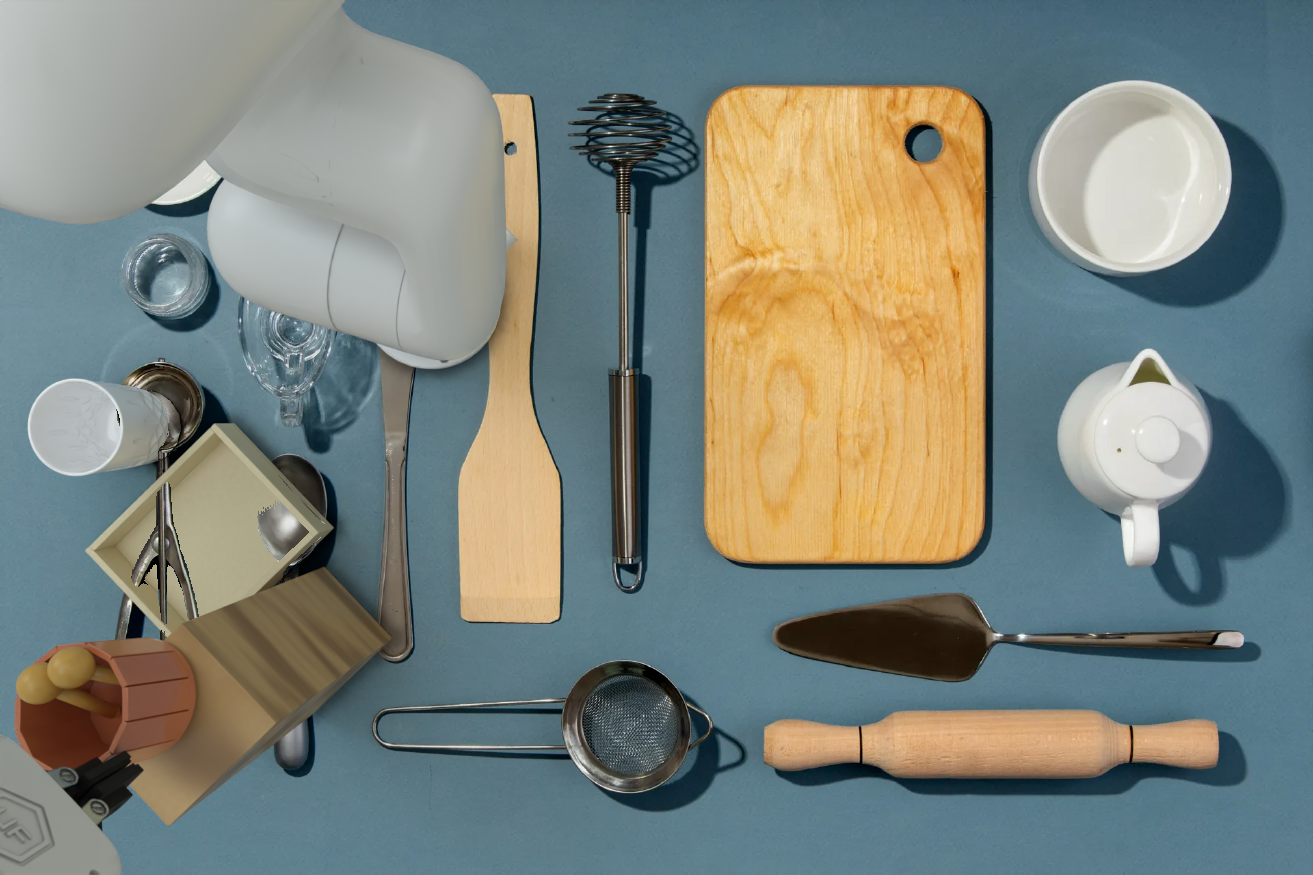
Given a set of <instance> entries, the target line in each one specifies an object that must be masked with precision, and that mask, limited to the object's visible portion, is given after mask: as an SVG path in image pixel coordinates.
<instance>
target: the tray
mask: <svg viewBox="0 0 1313 875" xmlns="http://www.w3.org/2000/svg"><path fill="white" fill-rule="evenodd" d="M278 475H279V476H280V477H281V478H282V479H283V480H284V481H285V482H286V483H287V484H288V486H289V487H290V488H291V489H292V490H293V491H294V492H295V493H296V494H297V495H298V496H299V497H300V498H301V499H302V500H303V501H304V502H305V503H306V504H307V506H308V507H309V508H310V509H311V510H312V511H313V512H314V513H315V514H316V515H317V516H318V517H319V518H320V519H321V520H322V521H323V522H324V523H325V524H324V523H322V522H321V521H320V520H319V519H318V518H317V517H315V515H314V514H313V513H312V512H311V511H310V510H309V509H308V508H307V507H306V506H305V505H304V504H303V503H302V502H301V501H300V500H299V498H297V496H296V495H295V494H294V493H293V492H292V491H291V490H290V489H289V488H288V486H286V484H285V483H284V482H283V480H282V479H281V478H280V477H279V476H278ZM166 482H169V484H170V487H171V502H172V514H173V522H174V527H175V529H176V533H177V535H178V540H179V544H180V550H181V552H182V554H183V556H184V560H185V563H186V564H187V568H188V571H189V577H190V580H191V584H192V587H193V591H194V593H195V600H196V602H197V608H198V614H199V616H202V615H204V614H207V613H209V612H212V611H214V610H217V609H219V608H222V607H224V606H227V605H229V604H232V603H234V602H237V601H239V600H242V599H245V598H247V597H250V596H252V595H255V594H257V593H260V592H262V591H265V590H267V589H270V588H272V587H275V586H277V585H278V583H279V582H280V581H281V580H282V579H283V578H284V577H283V575H282V574H283V572H284V571H285V570H286V568H287V567H288V566H289V565H290V564H291V563H292V562H294V561H295V560H296V559H297V558H298V557H299V556H300V555H301V554H303V553H304V552H305V551H306V550H307V549H308V548H309V547H310V546H311V545H313V543H315V542H316V541H317V540H318V539H319V538H320V537H321V538H320V539H319V540H318V541H317V542H316V546H317V545H318V544H320V542H321V541H322V540H323V539H324V538H326V536H328V535H329V534H330V532H332V530H334V526H333V525H332V524H331V523H330V522H329V521H328V520H327V519H326V517H324V516H323V515H322V513H321V512H320V511H319V510H318V509H317V508H316V507H315V506H314V505H313V504H312V503H311V502H310V501H309V500H308V499H307V498H306V497H305V496H304V495H303V494H302V493H301V491H300V490H299V489H298V488H297V487H296V486H295V485H294V484H293V483H292V482H291V481H290V480H289V479H288V478H287V477H286V475H285V474H283V473H282V472H281V470H279V469H278V467H277V466H276V465H275V464H274V463H273V462H272V460H270V459H269V458H268V457H267V455H265V454H264V452H262V451H261V449H260V448H258V447H257V445H256V444H255V443H254V442H253V441H252V439H250V438H249V437H248V436H247V435H246V433H244V431H242V430H241V428H240V427H239V426H238V425H237V423H234V422H232V423H229V422H228V423H226V422H225V423H219V422H218V423H217V422H216V423H213V424H212V425H211V427H209V428H208V429H207V430H206V431H205V432H204V433H203V434H202V435H201V436H200V437H199V438H198V439H197V440H196V441H195V442H194V443H193V444H192V445H191V446H190V447H189V448H188V449H187V450H186V451H185V452H184V453H183V454H182V455H181V456H180V457H179V458H178V459H177V460H175V462H174V463H172V464H171V465H170V466H169V468H168V469H167V470H165V471H164V472H163V473H162V474H161V475H160V476H159V477H158V478H157V480H155V481H154V482H153V483H152V484H151V485H150V486H149V487H147V489H146V490H145V491H144V492H143V493H142V494H141V495H140V496H139V497H137V499H136V500H135V501H134V502H133V503H132V504H131V505H130V506H128V508H127V509H125V511H123V513H122V514H121V515H120V516H118V518H116V519H115V520H114V521H113V522H112V524H110V526H108V527H107V528H106V529H105V530H104V531H103V532H102V533H101V534H100V535H99V536H98V537H97V538H96V539H95V540H94V541H93V542H92V543H91V544H90V545H89V546H88V547H87V548H86V549H85V550H84V551H85V552H86V554H87V555H88V556H89V557H90V558H91V559H92V560H93V561H94V562H95V563H96V564H97V566H99V567H100V568H101V570H103V572H104V573H105V574H106V575H107V576H108V577H109V578H110V579H111V580H112V582H114V583H115V584H116V585H117V586H118V588H119V589H121V591H123V593H124V594H125V595H126V596H127V597H128V598H129V599H130V600H131V602H133V604H135V605H136V607H138V608H139V610H140V611H141V612H142V613H143V614H144V615H145V616H146V617H147V618H148V619H149V620H150V621H151V622H152V623H153V624H154V626H156V627H157V629H158V630H159V631H160V632H161V630H162V632H163V633H164V631H165V635H164V636H165V638H167V637H168V636H169V635H170V634H171V633H172V632H173V631H174V630H175V629H176V628H177V627H178V626H179V625H180V624H182V623H184V622H187V621H189V619H188V617H187V610H186V607H185V602H184V595H183V591H182V588H181V587H180V584H179V582H178V578H177V576H176V574H175V572H174V569H173V568H172V567H171V566H169V565H168V567H167V624H165V625H164V623H163V622H162V621H161V613H160V606H159V600H158V579H157V565H156V564H155V565H153V567H152V569H150V572H148V574H147V576H146V577H145V580H144V581H145V582H146V583H147V584H148V585H147V584H144V583H143V584H141V585H140V586H139V587H136V586H135V585H134V584H133V582H132V579H131V576H132V569H134V567H135V564H136V562H137V559H139V555H140V554H141V551H142V550H143V548H144V546H145V544H146V543H147V541H148V539H150V535H151V534H152V532H153V531H154V528H155V527H156V496H157V492H158V491H159V490H160V489H161V487H162V486H163V485H164V484H165V483H166ZM275 501H276V505H277V502H279V504H280V502H281V503H282V504H283V505H284V506H285V507H286V508H287V509H288V510H289V511H290V512H291V514H292V515H293V516H294V517H295V518H296V519H297V520H298V521H299V522H300V523H301V524H302V525H303V526H304V527H305V528H306V529H307V530H308V531H309V533H308V534H307V535H306V536H305V537H304V538H303V539H302V540H301V541H300V542H299V543H298V544H297V545H296V546H295V547H294V548H292V549H291V550H290V551H289V552H288V553H287V554H286V555H285V556H284V557H283V558H282V559H281V560H280V561H279V562H278V561H277V560H276V559H275V558H274V557H273V555H272V554H271V553H270V552H269V550H267V548H266V546H264V543H263V541H262V538H261V537H260V533H259V531H258V518H257V516H258V511H259V514H261V511H262V512H263V511H264V512H265V508H266V509H267V507H269V509H271V507H273V504H274V505H275ZM270 505H271V507H270ZM263 507H264V509H263ZM274 509H275V506H274ZM267 510H268V509H267ZM262 515H263V514H262ZM316 546H312V548H311V550H310V552H311V551H312V550H313V549H314V548H315V547H316ZM162 632H161V633H162ZM163 633H162V634H163Z"/></svg>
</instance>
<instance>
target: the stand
mask: <svg viewBox="0 0 1313 875" xmlns="http://www.w3.org/2000/svg"><path fill="white" fill-rule="evenodd" d="M391 640H392V636H391V635H390V634H389V633H388V632H387V631H386V629H384V628H383V627H382V626H381V625H380V623H378V621H376V620H375V619H374V617H373V616H372V615H371V614H370V613H369V612H368V611H367V610H366V608H364V607H363V606H362V604H360V603H359V602H358V600H356V599H355V597H354V596H353V595H352V594H351V593H350V592H349V591H348V590H347V589H346V588H345V586H344V585H342V584H341V582H339V580H338V579H336V578H335V576H334V575H333V574H332V573H331V572H330V571H329V570H328V569H327V568H326V566H322V567H320V568H317V569H315V570H312V571H310V572H307V573H305V574H303V575H300V576H297V577H295V578H293V579H290V580H287V581H285V582H282V583H280V584H276V585H275V586H274V587H272V588H270V589H267V590H265V591H262V592H260V593H257V594H255V595H252V596H250V597H247V598H245V599H242V600H239V601H237V602H234V603H232V604H229V605H227V606H224V607H222V608H219V609H217V610H214V611H212V612H209V613H207V614H204V615H202V616H199V617H197V618H194V619H192V620H189V621H187V622H184V623H182V624H180V625H179V626H178V627H177V628H176V629H175V630H174V631H173V632H172V633H171V634H170V635H169V636H168V637H165V639H164V640H163V641H164V642H167V643H169V644H170V645H172V646H173V647H175V648H176V649H177V650H178V651H179V652H180V653H181V654H182V655H183V656H184V657H185V659H186V660H187V662H188V664H189V666H190V668H191V670H192V673H193V676H194V681H195V688H196V701H195V707H194V711H193V715H192V718H191V720H190V723H189V725H188V727H187V729H186V731H185V732H184V733H183V735H182V736H181V738H180V739H179V740H178V741H177V742H176V743H175V744H174V745H173V746H172V747H171V748H169V749H168V750H166V751H165V752H163V753H161V754H159V755H157V756H155V757H153V758H151V759H149V760H145V761H141V762H137V763H134V764H135V765H136V764H139V765H140V766H141V767H142V768H143V769H144V771H143V772H142V773H141V774H140V775H139V776H138V777H137V778H136V779H135V780H134V781H133V782H132V783H131V784H130V785H129V786H128V787H130V788H131V789H132V790H133V791H134V792H135V793H136V794H137V795H138V796H139V797H140V798H141V800H143V802H144V803H145V804H146V805H147V806H148V807H149V808H150V810H152V811H153V813H155V815H157V816H158V817H159V819H161V821H162V822H163V823H164V824H165V825H166V826H167V827H170V826H172V825H173V824H174V823H176V821H178V820H180V819H181V818H182V817H183V816H185V815H186V814H187V813H188V812H189V811H191V810H192V809H193V808H194V807H196V806H197V805H198V804H200V803H201V802H202V801H204V800H205V799H206V798H207V797H209V796H210V795H211V794H213V793H214V792H215V791H216V790H218V789H219V788H221V787H222V786H223V785H224V784H226V783H227V782H228V781H229V780H231V779H232V778H233V777H234V776H236V775H237V774H238V773H240V772H241V771H242V770H243V769H245V768H246V767H247V766H248V765H250V764H251V763H252V762H254V761H255V760H256V759H258V757H260V756H261V755H263V754H264V753H265V752H267V750H269V749H271V747H273V746H274V745H275V744H277V743H278V742H279V741H280V740H282V739H283V738H284V737H286V736H287V735H288V734H290V733H291V732H292V731H293V730H295V729H296V728H297V727H299V725H301V724H302V723H303V722H305V721H306V720H307V719H308V718H310V717H311V716H312V715H314V714H315V713H316V712H317V711H318V710H320V709H321V707H322V706H324V704H325V703H327V701H328V700H330V698H332V697H333V696H334V695H335V694H336V693H337V692H338V691H339V690H340V689H341V688H342V687H343V686H344V685H345V684H346V683H347V682H348V681H349V680H350V679H351V678H352V677H354V676H355V674H357V673H358V672H359V671H360V670H361V669H362V668H363V667H364V666H365V665H366V664H367V663H368V662H369V661H370V660H371V659H372V658H373V657H374V656H375V655H377V654H378V652H380V651H381V650H382V649H383V647H385V646H386V645H387V644H388V643H389V642H390V641H391ZM129 765H130V764H129ZM129 765H127V766H129ZM127 766H126V767H127Z"/></svg>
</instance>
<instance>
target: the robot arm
mask: <svg viewBox="0 0 1313 875" xmlns="http://www.w3.org/2000/svg"><path fill="white" fill-rule="evenodd" d="M346 1H347V0H0V208H1V209H3V210H6V211H9V212H13V213H16V214H19V215H23V216H27V217H30V218H35V219H39V220H45V221H50V222H55V223H59V224H60V223H61V224H65V225H80V226H81V225H91V224H97V223H101V222H107V221H113V220H118V219H121V218H124V217H127V216H129V215H133V214H134V213H137V212H138V211H140V210H142V209H143V208H146V207H147V206H148V205H150V204H152V203H154V202H155V201H157V200H158V199H159V198H161V197H162V196H164V195H165V194H167V193H168V192H169V191H171V190H172V189H174V188H175V187H176V186H178V185H179V184H180V183H181V182H182V181H184V180H185V179H186V178H187V177H188V176H190V175H191V174H192V173H193V172H194V171H195V170H197V168H198V167H199V166H200V165H201V164H202V163H203V162H204V161H205V162H206V163H207V165H208V166H209V167H210V168H211V169H212V170H213V171H214V172H215V173H216V174H217V175H218V176H219V177H220V178H222V179H223V180H222V182H221V183H220V184H219V186H218V187H217V190H216V191H215V193H214V195H213V197H212V200H211V202H210V204H209V209H208V213H207V220H206V238H207V244H208V250H209V254H210V256H211V258H212V261H213V264H214V266H215V267H216V270H217V271H218V273H219V275H220V276H221V277H222V278H223V280H224V281H225V283H227V285H228V286H229V287H230V288H231V289H232V290H234V291H235V292H236V293H237V294H238V296H241V297H242V298H243V299H245V300H246V301H249V302H250V303H252V304H254V305H256V306H258V307H260V308H263V309H265V310H268V311H271V312H274V313H277V314H280V315H283V316H287V317H290V318H292V319H293V318H294V319H296V320H300V321H303V322H305V323H309V324H312V325H314V326H315V325H316V326H318V327H320V328H321V327H322V328H325V329H328V330H331V331H335V332H337V333H341V334H347V335H350V336H353V337H356V338H359V339H362V340H365V341H368V342H371V343H374V344H376V346H378V347H379V349H381V350H382V351H383V353H385V354H386V355H387V356H389V357H391V358H392V359H393V360H395V361H396V362H399V363H401V364H404V365H406V366H408V367H412V368H415V369H424V370H440V369H447V368H450V367H454V366H457V365H460V364H462V363H464V362H465V361H467V360H470V359H471V358H473V356H474V355H476V354H477V353H478V352H480V351H481V350H482V349H483V348H484V347H485V345H486V344H487V343H488V341H489V340H490V338H492V335H493V333H494V332H495V330H496V328H497V326H498V322H499V319H500V316H501V309H502V304H503V300H504V296H505V290H506V281H507V268H508V267H507V266H508V264H507V260H508V259H507V257H508V255H507V254H508V253H507V251H508V250H509V249H511V247H512V246H513V245H514V244H515V243H516V242H517V241H518V239H517V238H516V237H515V236H514V235H513V233H511V231H510V230H509V229H508V228H507V212H506V211H507V210H506V209H507V206H506V173H505V172H506V170H505V143H504V132H503V131H504V130H503V124H502V118H501V117H502V116H501V114H500V110H499V108H498V105H497V102H496V100H495V98H494V96H493V94H492V92H491V90H490V89H489V87H488V86H487V85H486V83H485V82H484V81H483V79H481V77H479V76H478V75H477V74H476V72H474V71H473V70H471V68H468V67H467V66H466V65H464V64H462V63H460V62H458V61H456V60H454V59H452V58H450V57H447V56H446V55H442V54H440V53H437V52H434V51H431V50H428V49H426V48H422V47H419V46H416V45H412V44H409V43H407V42H403V41H400V40H397V39H394V38H391V37H388V36H384V35H381V34H378V33H375V32H373V31H370V30H368V29H367V28H364V27H363V26H361V25H359V24H358V23H357V22H355V21H353V20H352V19H351V18H350V17H349V16H348V15H347V13H346V12H345V10H344V8H343V7H342V6H343V5H344V3H345V2H346ZM130 758H131V756H130V755H129V754H128V753H127V752H126V750H125V751H123V752H121V753H119V754H118V755H116V756H114V757H112V758H111V759H109V760H107V761H105V762H102V761H101V760H100V759H99V758H98V757H95V758H93V759H92V760H90V761H88V762H86V763H84V764H82V765H81V766H79V767H77V768H75V769H72V768H70V767H66V766H63V767H59V768H56V769H53V770H50V771H48V770H44V769H43V768H42V767H41V766H40V765H39V764H38V763H37V762H36V761H35V760H34V759H33V758H32V757H31V756H30V755H29V754H28V753H27V752H26V751H25V750H24V749H23V748H22V747H21V745H20V744H18V743H17V742H16V741H14V740H12V738H9V737H7V736H5V735H3V734H1V733H0V875H122V874H123V863H122V860H121V857H120V854H119V852H118V850H117V848H116V847H115V846H114V843H113V842H112V841H111V840H110V839H109V837H108V836H107V835H106V834H105V833H104V832H103V821H104V820H105V819H108V818H109V817H110V816H112V815H113V814H115V813H116V812H117V811H119V809H121V808H122V807H123V806H124V805H125V804H126V803H127V802H128V801H129V800H130V799H131V798H132V797H133V796H134V794H133V793H132V791H130V789H129V788H128V787H130V786H129V785H130V784H131V783H132V782H133V781H134V780H135V779H136V778H137V777H138V776H139V775H140V774H141V773H142V772H143V771H144V769H143V768H142V767H141V766H140V765H139V764H136V765H135V764H134V763H132V764H130V763H131V760H130ZM129 764H130V765H129ZM127 765H129V766H127ZM126 766H127V767H126Z"/></svg>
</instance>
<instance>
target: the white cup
mask: <svg viewBox="0 0 1313 875" xmlns="http://www.w3.org/2000/svg"><path fill="white" fill-rule="evenodd" d="M147 390H148V389H143V388H139V387H136V386H131V385H126V384H120V383H115V382H106V381H100V380H92V379H85V378H75V377H74V378H66V379H62V380H59V381H56V382H54V383H52V384H51V385H49V386H47V387H46V388H45V389H43V391H42V392H41V393H40V394H39V395H38V396H37V397H36V399H35V400H34V401H33V404H32V406H31V408H30V411H29V414H28V419H27V434H28V435H27V436H28V439H29V440H28V441H29V443H30V446H31V448H32V450H33V452H34V454H35V456H36V457H37V458H38V459H39V461H41V462H42V464H44V465H45V466H46V467H48V469H50V470H52V471H54V472H56V473H58V474H61V475H64V476H69V477H84V476H89V475H96V474H101V473H102V474H103V473H109V472H115V471H121V470H125V469H131V468H135V467H139V466H142V465H151V464H152V463H156V462H158V461H159V460H158V451H159V448H160V447H161V446H163V445H164V443H165V441H166V439H167V437H168V436H169V431H168V423H169V418H168V416H169V415H168V413H167V410H166V408H165V407H164V405H163V403H162V402H161V400H160V399H159V398H158V397H156V396H155V395H153V394H151V393H150V392H148V391H147ZM116 409H117V411H118V414H119V418H120V426H119V423H118V421H117V411H116ZM167 433H168V435H167ZM170 454H171V453H169V455H170Z"/></svg>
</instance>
